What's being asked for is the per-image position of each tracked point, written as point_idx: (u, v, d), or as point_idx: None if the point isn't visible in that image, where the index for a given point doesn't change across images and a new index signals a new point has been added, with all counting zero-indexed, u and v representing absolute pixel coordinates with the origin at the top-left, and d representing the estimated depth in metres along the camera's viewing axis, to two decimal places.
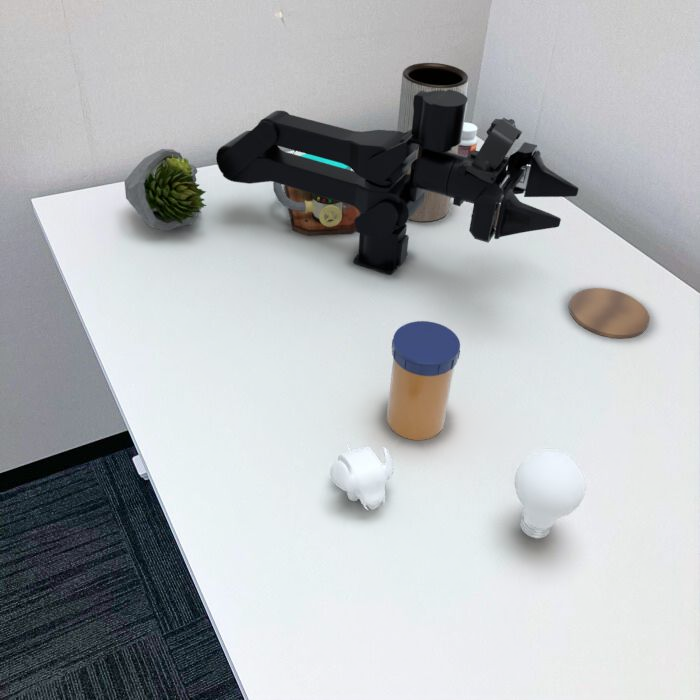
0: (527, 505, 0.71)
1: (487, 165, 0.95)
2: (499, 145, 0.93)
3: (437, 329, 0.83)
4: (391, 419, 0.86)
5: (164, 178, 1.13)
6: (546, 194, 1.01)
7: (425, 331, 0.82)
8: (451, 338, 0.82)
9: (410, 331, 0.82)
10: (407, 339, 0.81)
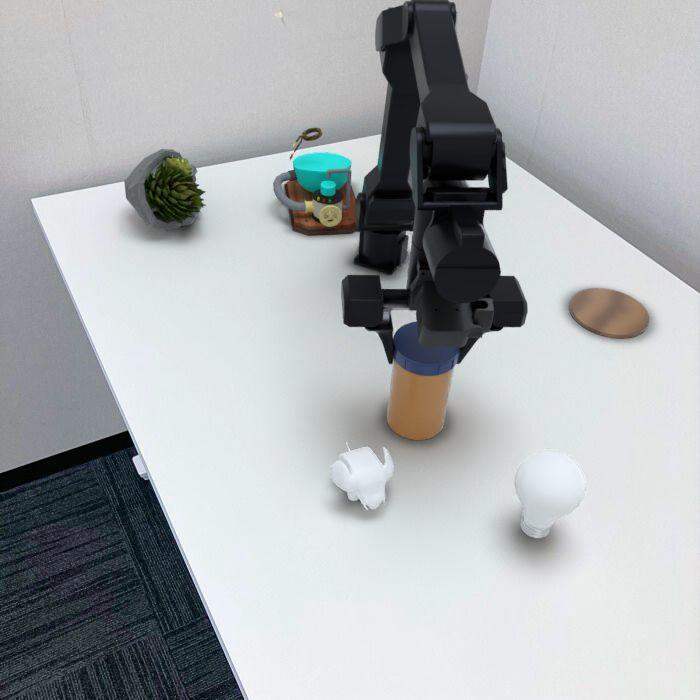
0: (527, 505, 0.71)
1: (413, 305, 0.73)
2: (419, 331, 0.71)
3: None
4: (391, 419, 0.86)
5: (164, 178, 1.13)
6: None
7: None
8: None
9: (410, 331, 0.82)
10: (407, 339, 0.81)
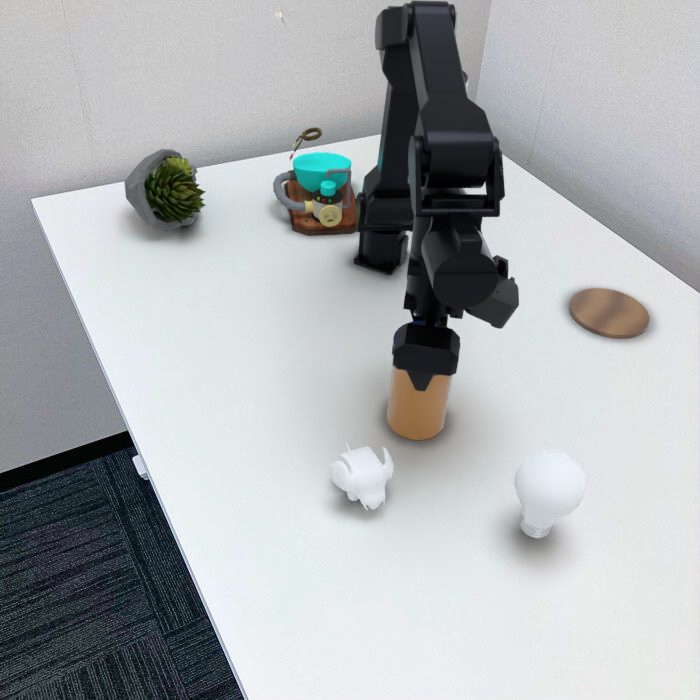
0: (527, 505, 0.71)
1: (472, 308, 0.74)
2: (499, 318, 0.75)
3: None
4: (391, 419, 0.86)
5: (164, 178, 1.13)
6: (415, 318, 0.84)
7: None
8: (423, 324, 0.83)
9: None
10: None
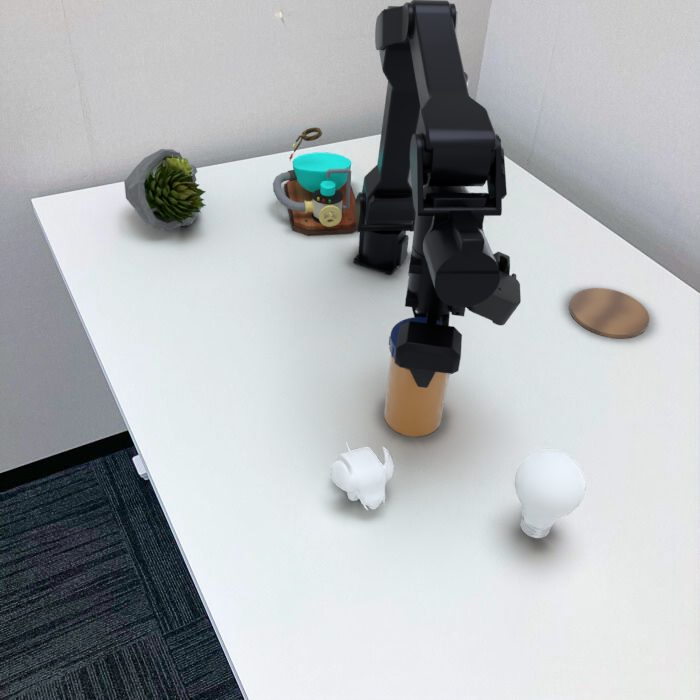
0: (527, 505, 0.71)
1: (474, 306, 0.74)
2: (501, 315, 0.75)
3: None
4: (389, 417, 0.87)
5: (164, 178, 1.13)
6: (417, 315, 0.84)
7: None
8: (397, 333, 0.81)
9: None
10: None
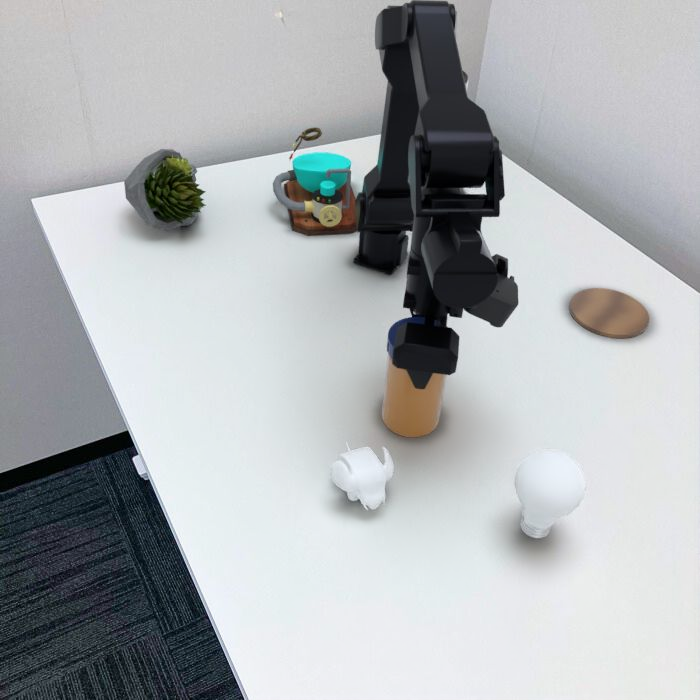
0: (527, 505, 0.71)
1: (472, 308, 0.74)
2: (498, 317, 0.75)
3: None
4: (386, 417, 0.87)
5: (164, 178, 1.13)
6: None
7: None
8: None
9: None
10: None
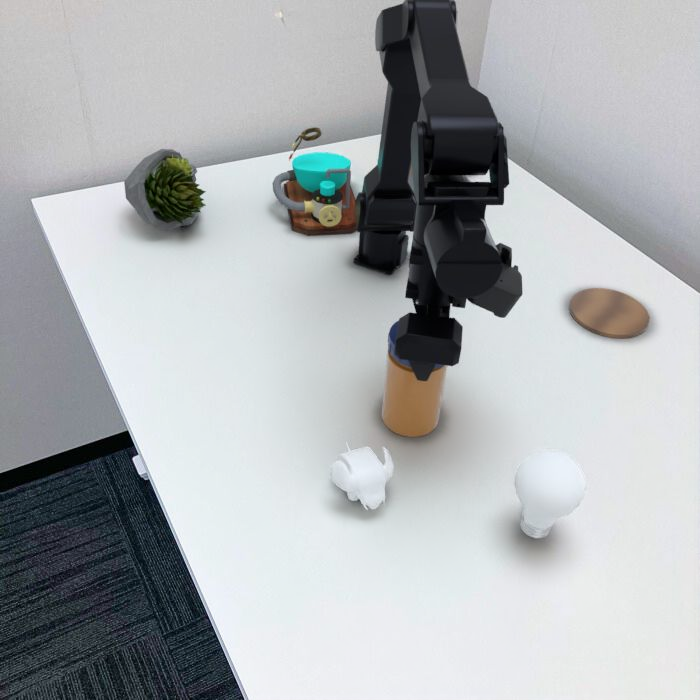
0: (527, 505, 0.71)
1: (475, 297, 0.73)
2: (502, 307, 0.74)
3: None
4: (386, 417, 0.87)
5: (164, 178, 1.13)
6: (417, 306, 0.83)
7: None
8: None
9: None
10: None
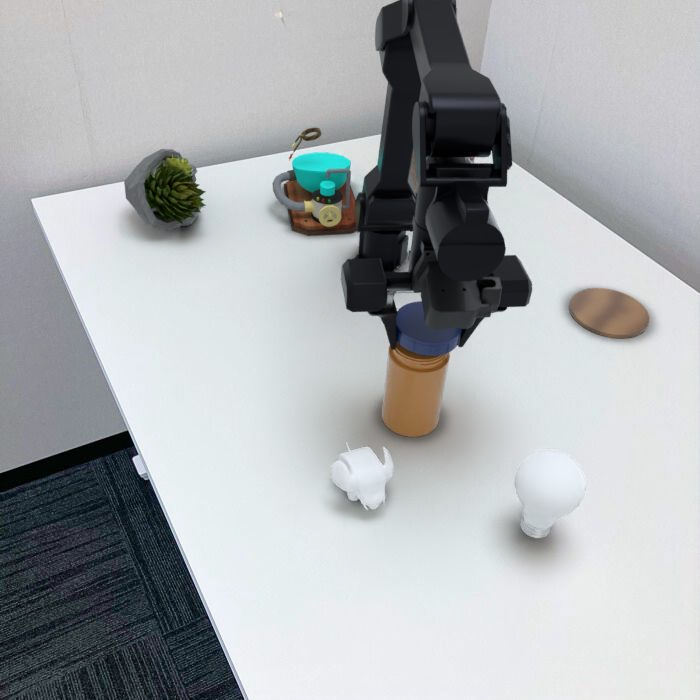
0: (527, 505, 0.71)
1: (418, 287, 0.71)
2: (426, 312, 0.70)
3: None
4: (386, 417, 0.87)
5: (164, 178, 1.13)
6: None
7: None
8: (452, 331, 0.79)
9: None
10: (415, 311, 0.81)
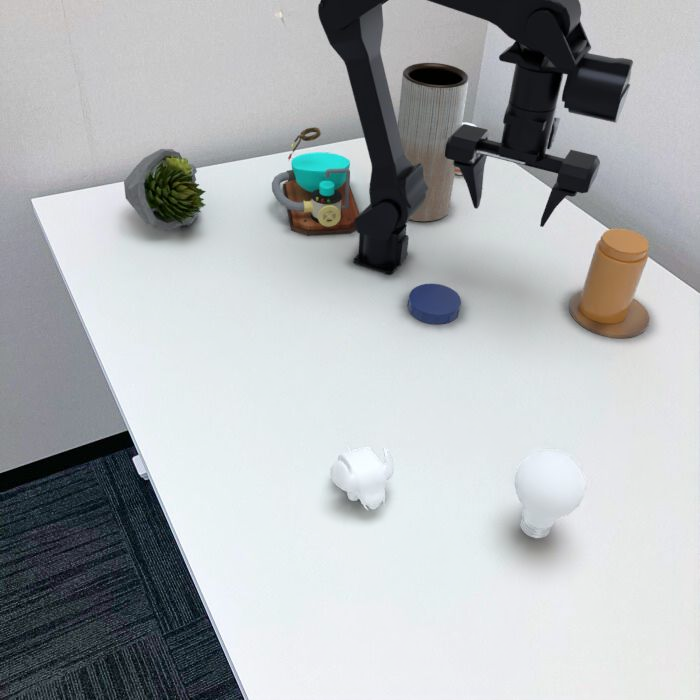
0: (527, 505, 0.71)
1: (554, 133, 0.95)
2: None
3: (453, 297, 1.05)
4: (613, 316, 1.03)
5: (164, 178, 1.13)
6: (476, 185, 0.98)
7: (443, 294, 1.05)
8: (452, 306, 1.03)
9: (435, 288, 1.06)
10: (425, 290, 1.06)
